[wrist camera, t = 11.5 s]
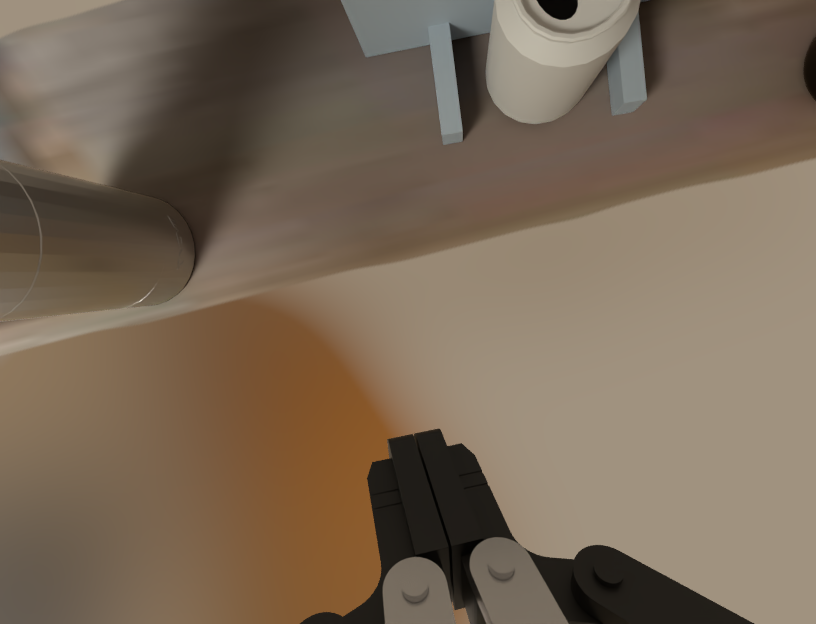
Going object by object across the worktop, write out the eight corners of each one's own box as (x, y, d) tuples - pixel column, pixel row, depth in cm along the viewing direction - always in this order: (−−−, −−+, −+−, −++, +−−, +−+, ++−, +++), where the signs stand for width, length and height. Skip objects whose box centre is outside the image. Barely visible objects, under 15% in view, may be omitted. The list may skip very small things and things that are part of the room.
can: (465, 66, 35) (467, -41, 23) (550, 1, 34) (599, -148, 22) (521, 148, 35) (553, 84, 23) (608, 85, 34) (688, -17, 22)
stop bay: (379, 155, 36) (356, 123, 28) (362, 30, 35) (333, -40, 27) (706, 99, 33) (783, 44, 25) (693, -39, 32) (769, -140, 24)
